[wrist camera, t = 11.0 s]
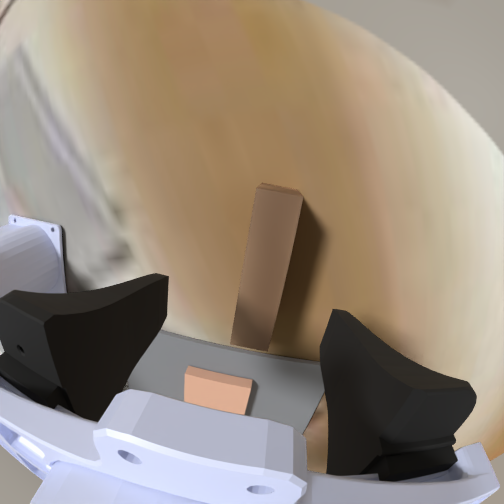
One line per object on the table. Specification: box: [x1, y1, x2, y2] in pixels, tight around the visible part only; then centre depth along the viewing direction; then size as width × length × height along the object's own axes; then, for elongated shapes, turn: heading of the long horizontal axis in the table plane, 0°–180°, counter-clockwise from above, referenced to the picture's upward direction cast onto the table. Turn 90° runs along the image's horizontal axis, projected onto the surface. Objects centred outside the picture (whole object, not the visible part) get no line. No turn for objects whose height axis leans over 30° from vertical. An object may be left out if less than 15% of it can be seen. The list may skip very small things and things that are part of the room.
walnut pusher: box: [230, 183, 303, 351], centre depth 18 cm, size 2×10×5 cm, turn 170°
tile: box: [184, 366, 252, 415], centre depth 25 cm, size 6×1×9 cm
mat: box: [127, 330, 325, 434], centre depth 26 cm, size 20×16×1 cm
